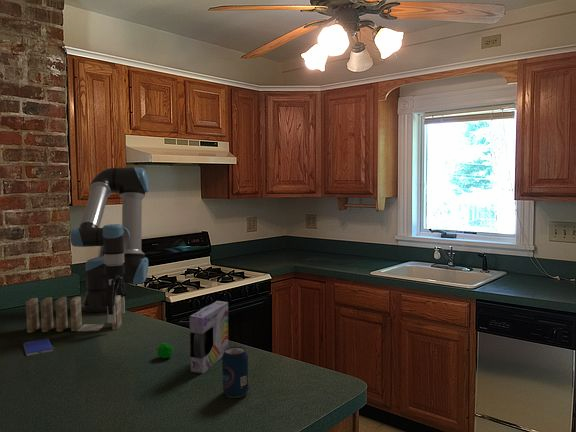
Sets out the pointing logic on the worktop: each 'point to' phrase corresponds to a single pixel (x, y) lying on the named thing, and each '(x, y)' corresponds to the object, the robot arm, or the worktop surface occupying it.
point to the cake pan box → (208, 336)
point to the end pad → (91, 327)
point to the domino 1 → (32, 314)
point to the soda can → (235, 372)
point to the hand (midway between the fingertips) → (116, 317)
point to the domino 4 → (76, 313)
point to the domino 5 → (117, 313)
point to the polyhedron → (164, 350)
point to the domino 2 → (47, 314)
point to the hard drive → (37, 347)
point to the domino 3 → (61, 313)
